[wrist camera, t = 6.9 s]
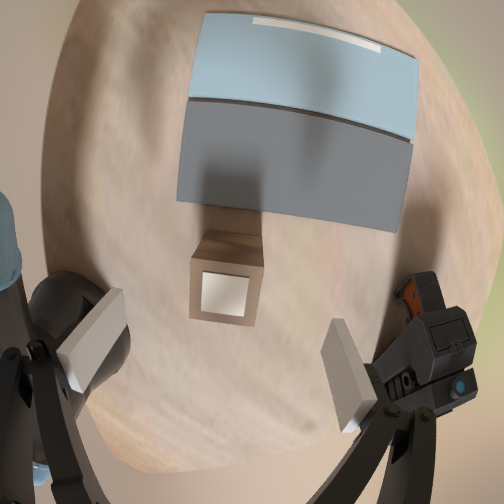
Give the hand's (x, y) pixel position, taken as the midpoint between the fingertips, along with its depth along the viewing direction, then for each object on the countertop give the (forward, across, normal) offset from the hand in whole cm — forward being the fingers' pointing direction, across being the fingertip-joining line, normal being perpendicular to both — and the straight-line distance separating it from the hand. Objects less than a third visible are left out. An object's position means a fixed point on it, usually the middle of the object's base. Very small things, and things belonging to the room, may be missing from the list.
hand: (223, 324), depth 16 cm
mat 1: (+10, +5, +19) cm, 22 cm away
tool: (+11, +21, -8) cm, 25 cm away
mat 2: (+11, +5, +10) cm, 15 cm away
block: (+11, 0, 0) cm, 11 cm away
